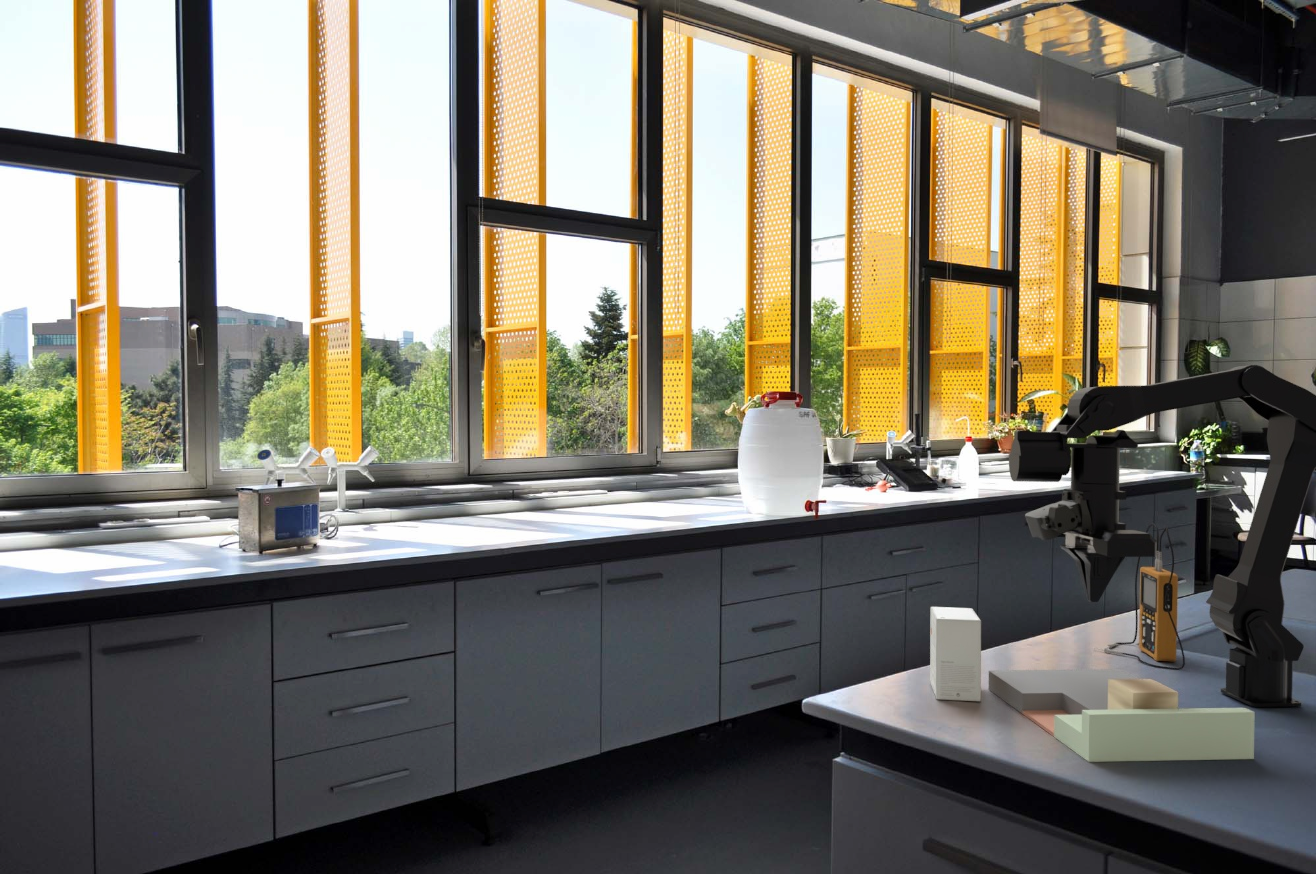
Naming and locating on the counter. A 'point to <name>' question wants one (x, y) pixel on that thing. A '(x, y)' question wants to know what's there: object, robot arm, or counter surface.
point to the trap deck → (1121, 719)
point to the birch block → (1140, 695)
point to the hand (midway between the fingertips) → (1092, 601)
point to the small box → (955, 653)
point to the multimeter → (1156, 611)
